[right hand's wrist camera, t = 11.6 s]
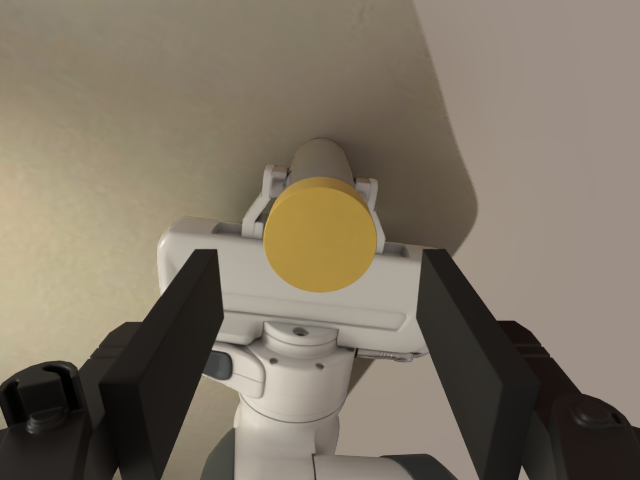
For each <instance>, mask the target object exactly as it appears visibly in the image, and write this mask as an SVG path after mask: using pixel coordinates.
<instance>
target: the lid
mask: <svg viewBox="0 0 640 480" xmlns="http://www.w3.org/2000/svg"><path fill="white" fill-rule="evenodd" d="M263 245H264V251H265V254H266V258H267V260H268V262H269V264H270V266H271V267H272V269H273V270H274V271H275V272H276V274H277V275H278V276H279V277H280V278H281V279H282V280H284V281H285V282H287V283H288V284H290V285H292V286H293V287H295V288H298V289H300V290H304V291H308V292H314V293H326V292H332V291H337V290H340V289H343V288H345V287H347V286H349V285H351V284H352V283H354V282H355V281H357V280H358V279H359V278H360V277H361V276H362V275H363V274H364V273H365V272H366V271H367V269H368V268H369V266H370V265H371V263H372V261H373V258H374V256H375V252H376V248H377V232H376V227H375V224H374V221H373V218H372V216H371V213H370V210H369V208H368V206H367V204H366V202H365V200H364V199H363V197H362V196H361V195H360V194H359V193H358V192H357V191H356V190H355V189H354V188H353V187H351V186H350V185H348V184H346V183H345V182H342V181H340V180H337V179H334V178H329V177H311V178H307V179H303V180H301V181H298V182H296V183H294V184H292V185H291V186H289V187H288V188H286V189H285V190H284V191H283V192H282V193H281V194H280V195H279V197H278V198H277V199H276V201H275V203H274V204H273V207H272V209H271V211H270V214H269V217H268V220H267V222H266V226H265V229H264V236H263Z"/></svg>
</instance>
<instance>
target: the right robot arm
mask: <svg viewBox="0 0 640 480" xmlns="http://www.w3.org/2000/svg"><path fill="white" fill-rule="evenodd" d="M223 320H224V310H223V300H222V290H221V280H220V270H219V260H218V251H217V249H195V250H194V251H193V252H192V254H191V255H190V257H189V258H188V259H187V261H186V262H185V264H184V265H183V266H182V268H181V269H180V270H179V272H178V273H177V275H176V276H175V277H174V279H173V280H172V282H171V283H170V284H169V286H168V287H167V289H166V290H165V291H164V293H163V294H162V295H161V297H160V298H159V300H158V301H157V302H156V304H155V305H154V307H153V308H152V309H151V311H150V312H149V314H148V315H147V316H146V318H145V319H144V320H143V322H125V323H124V324H122V325H121V326H119V327H118V328H116V329H115V330H113V331H112V332H110V333H109V334H108V335H107V337H106V338H105V339H104V340H103V341H102V343H101V344H100V345H99V348H97V349H96V350H95V351H94V352H93V354H92V355H91V356H90V359H88V360H87V361H86V362H85V363H84V365H83V366H82V367H81V368H80V370H79V371H78V369H77V367H76V366H75V365H73V364H72V363H71V362H65V361H50V362H44V363H40V364H37V365H33V366H30V367H28V368H26V369H24V370H22V371H20V372H18V373H15V374H14V375H13V376H11V377H10V378H9V379H7V380H6V381H4V382H3V383H2V384H1V386H0V407H1V410H2V412H3V415H4V418H5V420H6V423H7V426H8V428H5V429H2V430H0V480H112V478H113V476H114V474H115V472H116V470H117V468H118V466H119V470H120V474H121V478H122V480H161V477H162V475H163V472H164V470H165V467H166V464H167V462H168V459H169V457H170V454H171V452H172V449H173V447H174V444H175V442H176V439H177V437H178V434H179V432H180V429H181V426H182V424H183V421H184V419H185V416H186V414H187V411H188V409H189V406H190V404H191V401H192V399H193V396H194V393H195V391H196V388H197V386H198V383H199V381H200V378H201V376H202V373H203V371H204V368H205V366H206V363H207V361H208V358H209V355H210V353H211V350H212V348H213V345H214V343H215V340H216V338H217V335H218V333H219V330H220V328H221V325H222V323H223ZM416 320H417V323H418V325H419V328H420V330H421V333H422V335H423V338H424V340H425V343H426V345H427V348H428V350H429V353H430V355H431V358H432V361H433V363H434V366H435V368H436V371H437V373H438V376H439V378H440V381H441V383H442V386H443V388H444V391H445V393H446V396H447V399H448V401H449V404H450V406H451V409H452V411H453V414H454V416H455V419H456V421H457V424H458V426H459V429H460V431H461V434H462V437H463V439H464V442H465V444H466V447H467V449H468V452H469V454H470V457H471V459H472V462H473V464H474V467H475V470H476V472H477V475H478V477H479V480H518V478H519V474H520V470H521V466H523V468H524V470H525V472H526V474H527V476H528V478H529V480H640V428H637V427H634V426H631V424H630V423H629V422H628V420H627V419H626V417H625V416H624V415H623V414H622V413H620V412H619V411H618V410H617V409H616V408H614V407H613V406H611V405H609V404H608V403H606V402H604V401H602V400H600V399H598V398H595V397H592V396H589V395H585V394H582V393H581V392H580V391H579V390H578V388H577V387H576V386H575V385H574V383H573V382H572V381H571V380H570V379H569V377H568V376H567V375H566V374H565V373H564V371H563V370H562V369H561V368H560V366H559V365H558V364H557V363H556V362H555V360H554V359H553V358H550V354H549V353H548V352H547V351H546V350H545V348H544V347H541V343H540V342H539V341H538V340H537V339H536V337H535V336H534V335H533V334H532V332H531V331H529V330H528V329H526V328H525V327H523V326H522V325H520V324H519V323H517V322H516V321H497V320H496V319H495V318H494V316H493V315H492V314H491V312H490V311H489V309H488V308H487V307H486V305H485V304H484V302H483V301H482V300H481V298H480V297H479V295H478V294H477V293H476V291H475V290H474V289H473V287H472V286H471V284H470V283H469V282H468V280H467V279H466V277H465V276H464V275H463V273H462V272H461V271H460V269H459V268H458V266H457V265H456V264H455V262H454V261H453V259H452V258H451V257H450V255H449V254H448V252H447V251H446V250H445V249H423V251H422V260H421V270H420V280H419V290H418V300H417V310H416Z"/></svg>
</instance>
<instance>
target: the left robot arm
mask: <svg viewBox="0 0 640 480" xmlns="http://www.w3.org/2000/svg"><path fill="white" fill-rule="evenodd" d="M288 171H289V168H288V167H281V166H274V165H266V167H265V170H264V175H263V187H262V192H261V193H260V194H259V196H258V197H257V198H256V200H255V201H254V203H253V204H252V205H251V207H250V208H249V209H248V211H247V213H246V215H245V216H244V218H243V222H242V223H235V222H227V221H219V220H211V219H203V218H195V217H186V216H185V217H181V218H179V219H178V220H177V221H176V222H174V223H173V224H172V225H171V226H170V227H169V228H168V229H167V230H166V231H165V232H164V233H163V234H162V236H161V237H160V239H159V242H158V245H157V267H158V279H159V287H160V294H161V295H162V294H163V293H164V291H165V290H166V289H167V287H168V286H169V284H170V283H171V282H172V280H173V279H174V277H175V276H176V275H177V273H178V272H179V270H180V269H181V268H182V266H183V265H184V264H185V262H186V261H187V259H188V258H189V257H190V255H191V254H192V252H193V251H194V250H195V249H217V251H218V260H219V270H220V280H221V290H222V300H223V310H224V320H223V323H222V325H221V328H220V330H219V333H218V335H217V338H216V340H215V343H214V345H213V348H212V350H211V353H210V355H209V358H208V361H207V363H206V366H205V368H204V371H203V373H202V376H205V377H207V378H210V379H212V380H215V381H217V382H219V383H222V384H224V385H226V386H228V387H230V388H232V389H234V390H236V391H238V392H239V396H240V403H239V406H238V408H237V411H236V414H235V418H234V427H233V428H232V429H231V430H230V431H229V432H228V433H227V434H226V435H225V436H224V437H223V438H222V439H221V441H220V442H219V443H218V444H217V446H216V447H215V448H214V449H213V451H212V452H211V453H210V455H209V456H208V459H207V461H206V464H205V466H204V469H203V472H202V476H201V480H458V479H457V478H456V477H455V476H454V475H453V474H452V473H451V472H450V471H449V470H448V469H447V468H446V467H444V466H443V465H442V464H441V463H440V462H439V461H437V460H436V459H435V458H434V457H432V456H430V455H428V454H408V455H385V456H380V457H361V456H343V455H334V454H335V450H336V446H337V441H338V436H339V418H338V413H339V412H340V410H341V408H342V406H343V405H344V402H345V399H346V396H347V391H348V386H349V381H350V376H351V371H352V367H353V361H354V358H355V357H360V358H369V359H390V360H395V361H397V362H411V361H412V360H413V358H418V357H421V356H424V355H426V354H428V353H429V350H428V348H427V345H426V343H425V340H424V338H423V335H422V333H421V330H420V328H419V325H418V323H417V320H416V310H417V300H418V290H419V280H420V270H421V260H422V251H423V249H438V248H434V247H427V246H419V245H411V244H403V243H395V242H387V241H385V239H386V237H385V235H384V232H383V229H382V227H381V224H380V221H379V219H378V216H377V213H376V211H375V202H376V197H377V192H378V182H377V180H376V179H373V178H365V177H357V176H355V177H354V181H355V185H356V188H357V191H358V193H359V194H360V195H361V196H362V197H363V199H364V200H365V202H366V204H367V206H368V208H369V210H370V213H371V216H372V218H373V221H374V224H375V227H376V232H377V248H376V252H375V256H374V258H373V261H372V263H371V265H370V266H369V268H368V269H367V271H366V272H365V273H364V274H363V275H362V276H361V277H360V278H359V279H358V280H357V281H355V282H354V283H352V284H351V285H349V286H347V287H345V288H343V289H340V290H337V291H332V292H326V293H314V292H308V291H304V290H300V289H298V288H295V287H293V286H292V285H290V284H288V283H287V282H285V281H284V280H282V279H281V278H280V277H279V276H278V275H277V274H276V272H275V271H274V270H273V269H272V267H271V266H270V264H269V262H268V260H267V258H266V254H265V251H264V245H263V236H264V229H265V226H266V222H267V214H266V213H263V212H262V211H263V209H264V208H265V207H266V205H267V204H268V202H269V201H270V200H271V198H278V197H279V195H280V194H281V193H282V192H283V188H284V185H285V182H286V179H287V176H288ZM413 352H415V353H413Z"/></svg>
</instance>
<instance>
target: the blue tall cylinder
mask: <svg viewBox="0 0 640 480" xmlns="http://www.w3.org/2000/svg"><path fill="white" fill-rule="evenodd" d="M311 177H329V178H334V179H337V180H340V181H342V182H345V183H346V184H348V185H350V186H351V187H353V188H354V189H355V190H356V191H357V188H356V185H355V181H354V178H353V175H352V172H351V169H350V166H349V163H348V160H347V157H346V155H345V153H344V151H343V150H342V148H341V147H340V146H339V145H338V144H336V143H335V142H333V141H331V140H328V139H323V138H317V139H312V140H309V141H307V142H305V143H304V144H302V145H301V146H300V147H299V148H298V150H297V151H296V153H295V155H294V157H293V160H292V164H291V167H290V170H289V173H288V176H287V179H286V182H285V185H284V188H283V191H284V190H285V189H286V188H288V187H289V186H291V185H292V184H294V183H296V182H298V181H301V180H303V179H307V178H311ZM357 192H358V191H357Z"/></svg>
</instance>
